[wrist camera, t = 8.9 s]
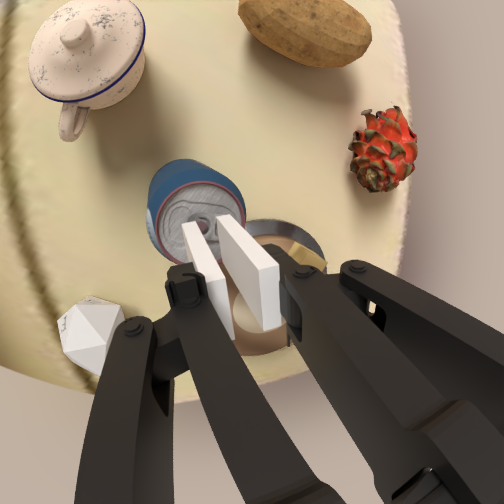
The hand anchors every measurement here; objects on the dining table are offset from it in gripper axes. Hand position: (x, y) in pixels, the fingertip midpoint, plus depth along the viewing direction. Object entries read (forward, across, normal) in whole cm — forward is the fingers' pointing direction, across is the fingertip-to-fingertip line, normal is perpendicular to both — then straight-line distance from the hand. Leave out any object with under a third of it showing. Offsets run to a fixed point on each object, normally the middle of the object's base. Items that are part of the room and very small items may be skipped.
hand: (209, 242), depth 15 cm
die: (+15, -13, -12) cm, 23 cm away
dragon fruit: (+14, +23, +3) cm, 27 cm away
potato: (+14, +13, +17) cm, 26 cm away
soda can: (+14, 0, 0) cm, 14 cm away
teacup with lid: (+15, -7, +13) cm, 21 cm away
